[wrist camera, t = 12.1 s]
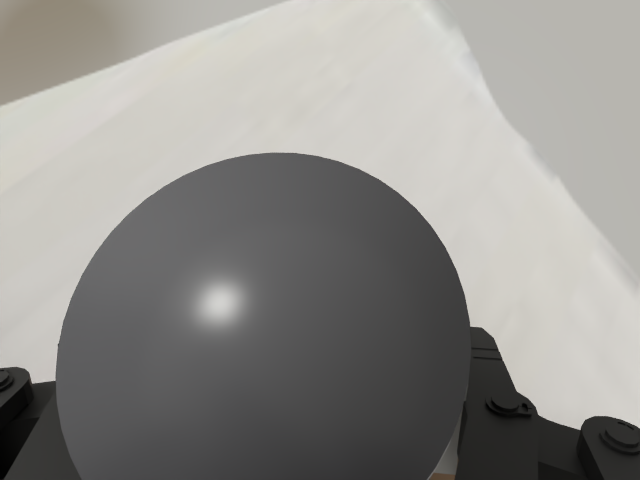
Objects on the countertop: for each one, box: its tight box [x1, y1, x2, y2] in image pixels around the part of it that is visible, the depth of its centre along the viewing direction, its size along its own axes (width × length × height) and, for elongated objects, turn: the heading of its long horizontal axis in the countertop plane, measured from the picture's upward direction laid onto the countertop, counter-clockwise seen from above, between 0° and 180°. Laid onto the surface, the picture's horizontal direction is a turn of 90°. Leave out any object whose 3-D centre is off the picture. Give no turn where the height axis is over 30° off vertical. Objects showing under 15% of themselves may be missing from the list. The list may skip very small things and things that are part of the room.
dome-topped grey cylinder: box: [56, 153, 471, 480], centre depth 13 cm, size 6×6×14 cm
